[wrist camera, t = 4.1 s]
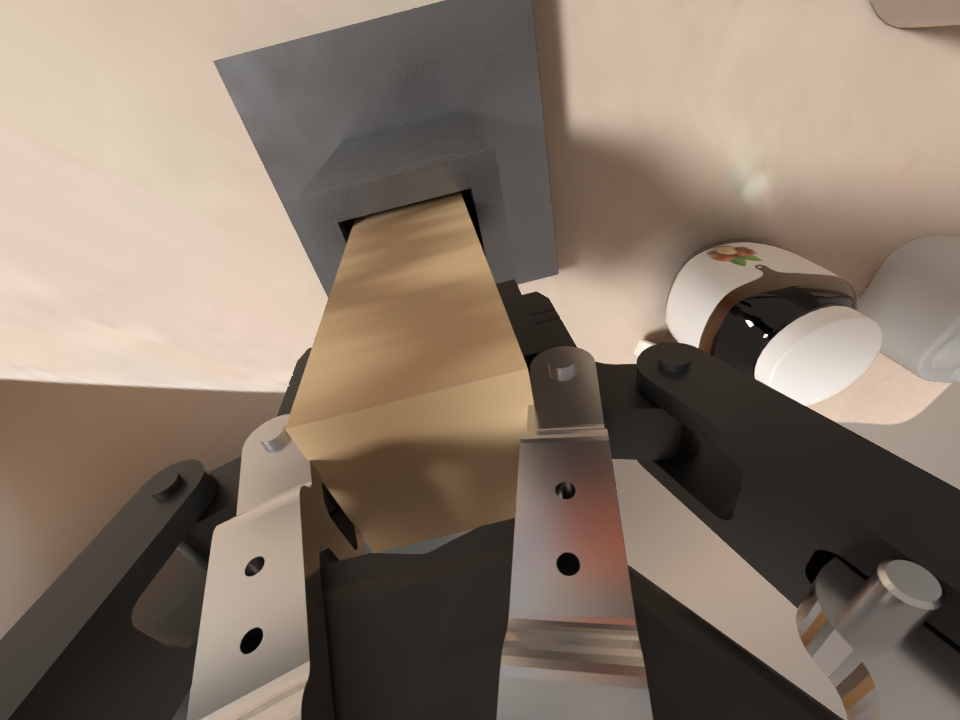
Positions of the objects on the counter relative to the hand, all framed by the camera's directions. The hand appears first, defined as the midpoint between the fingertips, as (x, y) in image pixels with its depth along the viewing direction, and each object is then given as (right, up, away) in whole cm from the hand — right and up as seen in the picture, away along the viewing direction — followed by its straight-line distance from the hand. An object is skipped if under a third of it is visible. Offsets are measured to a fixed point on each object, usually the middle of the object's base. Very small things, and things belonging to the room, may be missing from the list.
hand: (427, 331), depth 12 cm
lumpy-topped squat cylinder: (+42, +6, +26) cm, 50 cm away
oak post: (-2, +9, +12) cm, 15 cm away
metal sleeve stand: (-3, +11, +15) cm, 18 cm away
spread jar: (+20, +4, +24) cm, 31 cm away
